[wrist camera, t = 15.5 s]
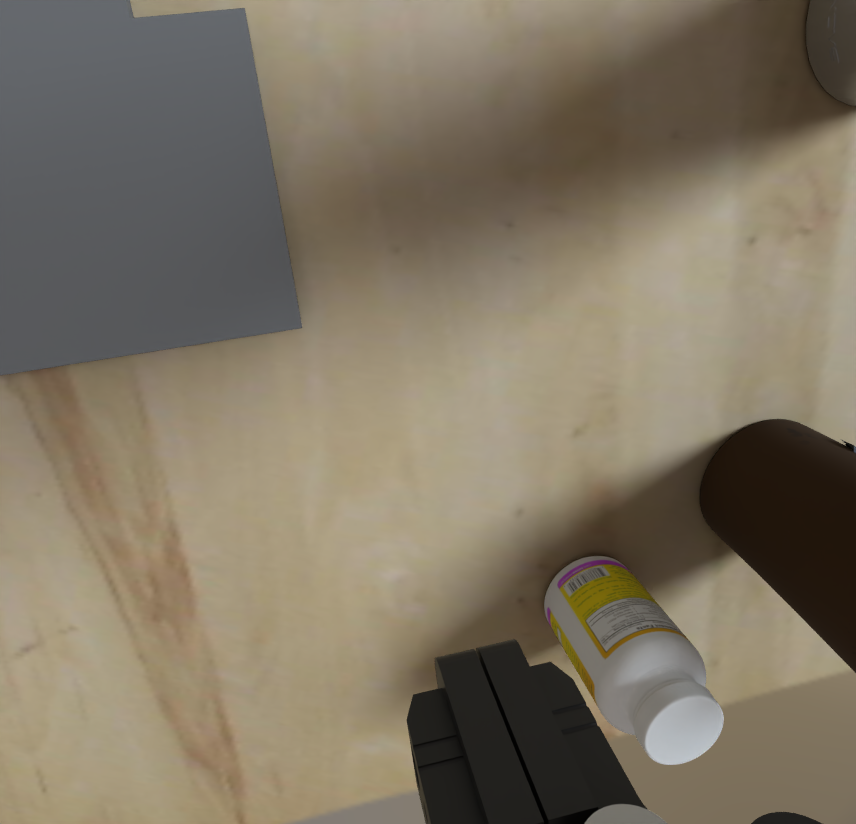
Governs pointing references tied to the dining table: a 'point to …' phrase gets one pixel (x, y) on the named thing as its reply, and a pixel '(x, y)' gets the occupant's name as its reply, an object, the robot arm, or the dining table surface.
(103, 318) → the board
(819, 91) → the dining table surface
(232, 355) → the dining table surface
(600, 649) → the supplement bottle
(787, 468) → the olive oil
